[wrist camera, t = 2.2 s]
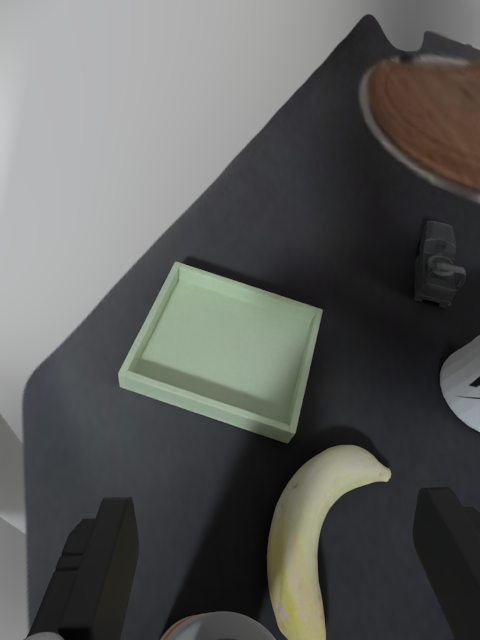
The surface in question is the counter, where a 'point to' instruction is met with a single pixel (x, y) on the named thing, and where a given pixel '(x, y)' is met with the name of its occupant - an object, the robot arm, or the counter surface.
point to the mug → (463, 383)
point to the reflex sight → (437, 265)
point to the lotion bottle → (217, 628)
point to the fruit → (310, 534)
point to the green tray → (225, 352)
